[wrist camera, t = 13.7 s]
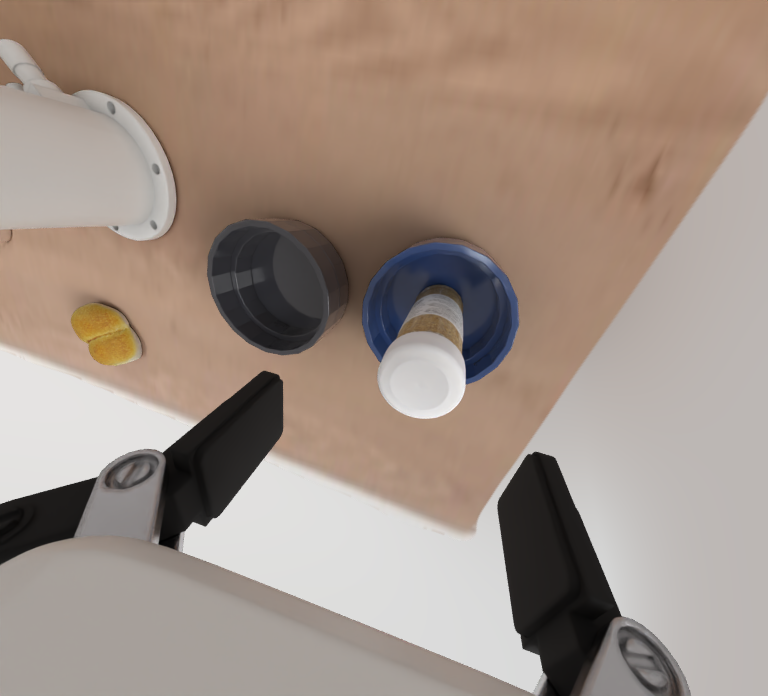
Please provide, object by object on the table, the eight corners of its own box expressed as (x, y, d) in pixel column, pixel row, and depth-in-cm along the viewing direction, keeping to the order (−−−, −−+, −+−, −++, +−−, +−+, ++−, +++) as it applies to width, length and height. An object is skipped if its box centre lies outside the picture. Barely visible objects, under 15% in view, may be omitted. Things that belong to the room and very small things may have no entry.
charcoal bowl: (225, 259, 29) (184, 267, 25) (302, 191, 24) (267, 186, 20) (291, 350, 33) (264, 371, 28) (371, 306, 27) (354, 323, 23)
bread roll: (113, 294, 36) (76, 302, 33) (154, 353, 39) (124, 367, 36) (81, 309, 39) (43, 318, 35) (121, 363, 42) (90, 376, 39)
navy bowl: (356, 280, 27) (335, 292, 22) (473, 207, 22) (476, 205, 17) (414, 377, 30) (406, 404, 25) (529, 333, 25) (543, 358, 20)
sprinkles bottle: (433, 338, 27) (412, 434, 15) (404, 303, 26) (357, 375, 14) (474, 311, 25) (485, 398, 13) (443, 271, 24) (426, 327, 12)
